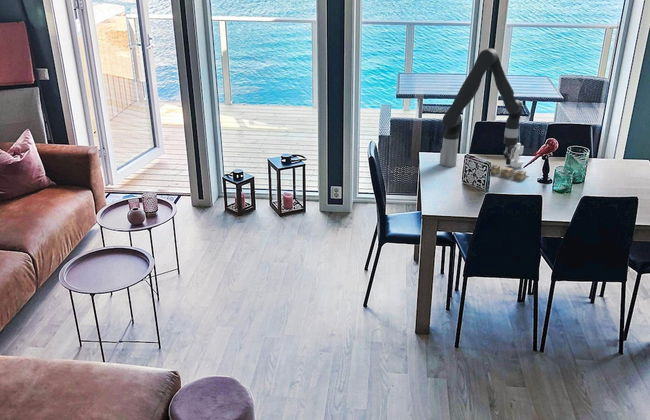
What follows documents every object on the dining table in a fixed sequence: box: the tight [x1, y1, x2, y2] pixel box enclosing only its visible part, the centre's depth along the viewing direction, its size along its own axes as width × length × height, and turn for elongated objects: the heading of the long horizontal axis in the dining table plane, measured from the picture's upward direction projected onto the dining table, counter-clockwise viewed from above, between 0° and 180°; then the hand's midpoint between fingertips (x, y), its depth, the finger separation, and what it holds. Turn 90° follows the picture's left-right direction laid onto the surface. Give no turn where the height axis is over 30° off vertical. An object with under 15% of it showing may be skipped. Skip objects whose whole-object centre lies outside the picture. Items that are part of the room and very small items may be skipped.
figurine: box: [509, 142, 525, 169], centre depth 371 cm, size 7×9×15 cm
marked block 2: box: [513, 169, 527, 181], centre depth 353 cm, size 5×5×4 cm
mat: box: [490, 169, 530, 183], centre depth 359 cm, size 22×14×1 cm, turn 50°
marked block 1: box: [490, 163, 501, 174], centre depth 362 cm, size 5×5×4 cm
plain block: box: [500, 166, 514, 177], centre depth 358 cm, size 5×5×4 cm
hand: (508, 164), depth 356 cm, fingers closed
